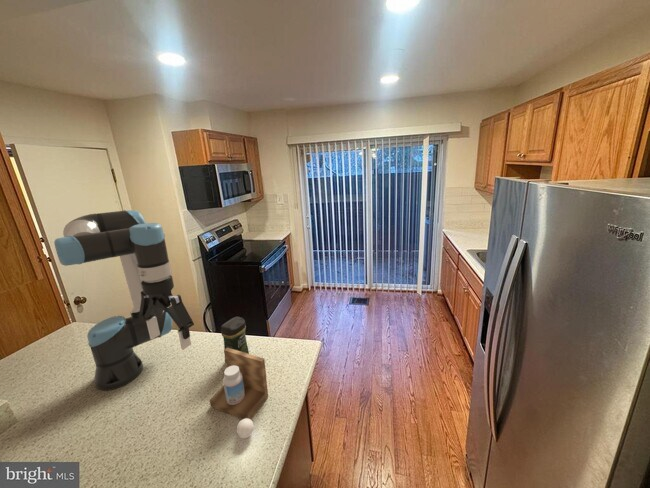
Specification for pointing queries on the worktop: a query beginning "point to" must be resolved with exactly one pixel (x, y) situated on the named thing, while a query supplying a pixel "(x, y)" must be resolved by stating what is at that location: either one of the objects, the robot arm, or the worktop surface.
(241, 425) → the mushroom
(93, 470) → the worktop surface
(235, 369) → the pill bottle
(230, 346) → the coffee jar
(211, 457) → the worktop surface
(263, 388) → the brown piece
